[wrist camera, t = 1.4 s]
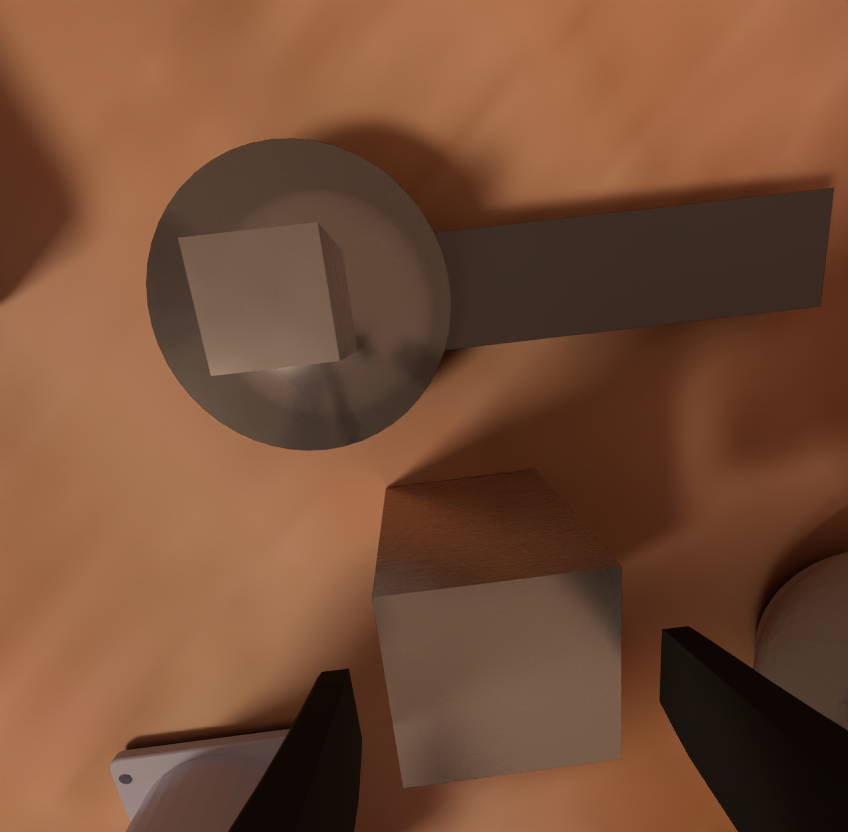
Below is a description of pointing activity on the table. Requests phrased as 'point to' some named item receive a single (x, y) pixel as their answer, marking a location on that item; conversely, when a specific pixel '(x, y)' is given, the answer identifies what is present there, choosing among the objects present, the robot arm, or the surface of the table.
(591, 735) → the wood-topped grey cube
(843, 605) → the teacup
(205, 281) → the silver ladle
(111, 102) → the table surface
